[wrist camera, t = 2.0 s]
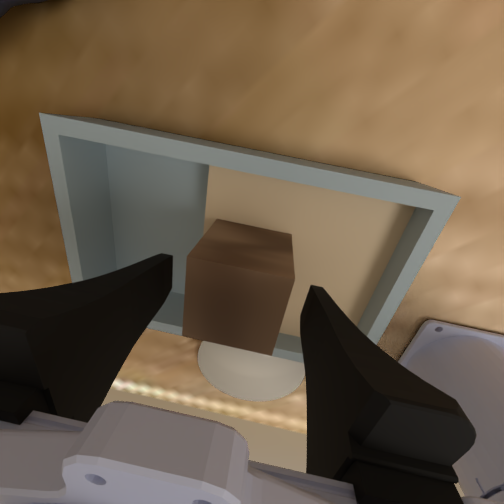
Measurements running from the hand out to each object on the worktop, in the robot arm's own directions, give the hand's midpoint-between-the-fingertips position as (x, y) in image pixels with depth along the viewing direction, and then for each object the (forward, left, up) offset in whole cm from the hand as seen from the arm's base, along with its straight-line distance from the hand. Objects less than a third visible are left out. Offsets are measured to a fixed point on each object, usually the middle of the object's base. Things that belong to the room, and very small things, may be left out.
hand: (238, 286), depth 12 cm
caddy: (+1, 0, -6) cm, 6 cm away
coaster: (-2, +12, -6) cm, 13 cm away
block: (0, 0, -3) cm, 3 cm away
